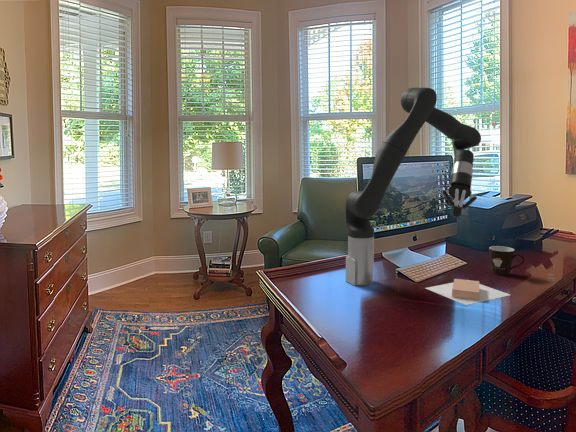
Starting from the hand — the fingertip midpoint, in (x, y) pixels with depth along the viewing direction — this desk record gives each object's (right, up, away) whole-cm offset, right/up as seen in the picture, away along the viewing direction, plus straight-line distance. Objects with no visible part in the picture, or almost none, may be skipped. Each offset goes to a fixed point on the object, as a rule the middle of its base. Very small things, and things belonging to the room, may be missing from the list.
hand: (456, 217), depth 160 cm
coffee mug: (+19, -22, +4) cm, 30 cm away
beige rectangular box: (-1, -23, -11) cm, 25 cm away
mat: (-2, -25, -14) cm, 29 cm away
